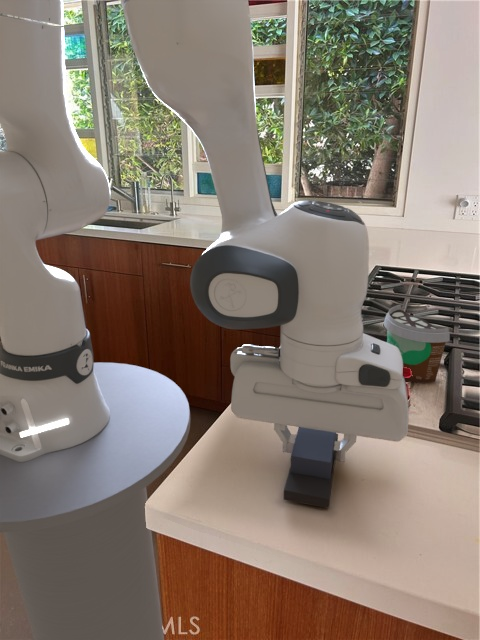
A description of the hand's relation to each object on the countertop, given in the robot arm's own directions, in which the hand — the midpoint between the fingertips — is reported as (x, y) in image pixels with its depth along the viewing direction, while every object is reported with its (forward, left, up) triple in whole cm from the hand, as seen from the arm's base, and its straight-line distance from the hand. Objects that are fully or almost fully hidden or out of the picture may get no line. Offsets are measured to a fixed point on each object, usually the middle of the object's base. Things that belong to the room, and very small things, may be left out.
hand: (314, 454), depth 56 cm
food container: (+11, +28, -2) cm, 30 cm away
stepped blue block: (0, 0, -2) cm, 2 cm away
